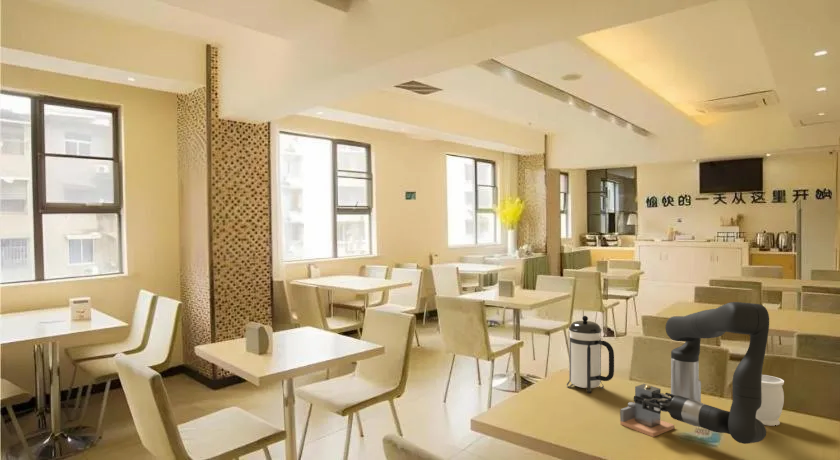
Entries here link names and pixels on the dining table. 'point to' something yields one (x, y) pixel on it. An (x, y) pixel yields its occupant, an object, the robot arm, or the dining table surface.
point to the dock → (629, 421)
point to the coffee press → (587, 355)
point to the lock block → (642, 414)
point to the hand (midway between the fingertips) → (642, 396)
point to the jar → (771, 400)
